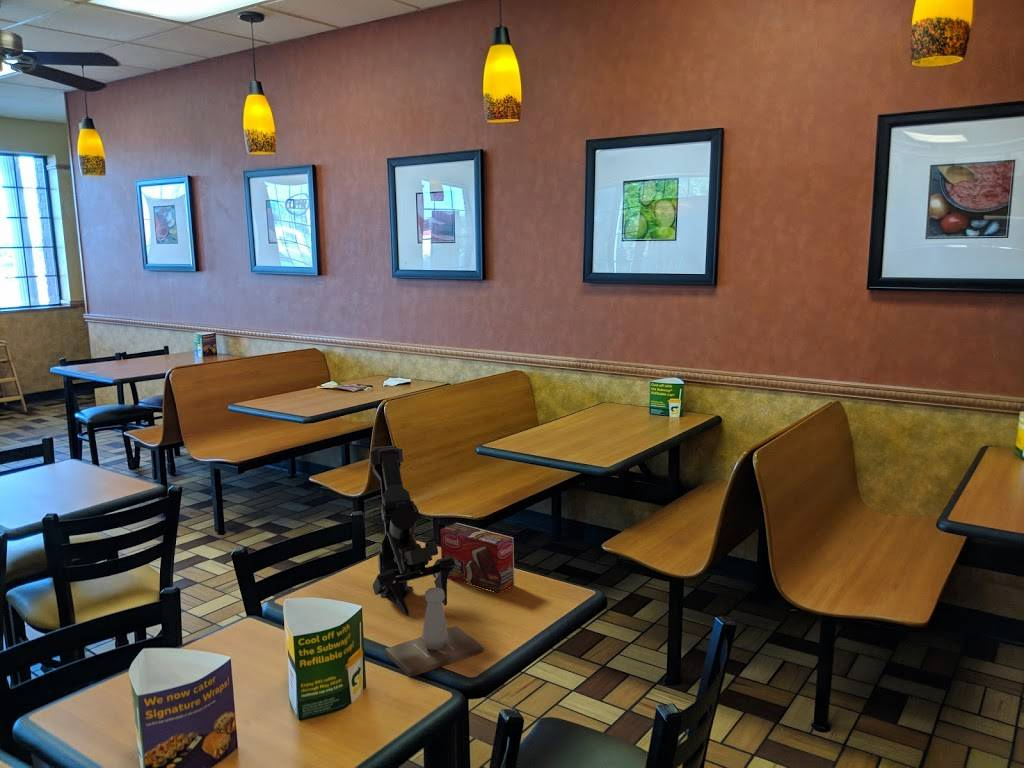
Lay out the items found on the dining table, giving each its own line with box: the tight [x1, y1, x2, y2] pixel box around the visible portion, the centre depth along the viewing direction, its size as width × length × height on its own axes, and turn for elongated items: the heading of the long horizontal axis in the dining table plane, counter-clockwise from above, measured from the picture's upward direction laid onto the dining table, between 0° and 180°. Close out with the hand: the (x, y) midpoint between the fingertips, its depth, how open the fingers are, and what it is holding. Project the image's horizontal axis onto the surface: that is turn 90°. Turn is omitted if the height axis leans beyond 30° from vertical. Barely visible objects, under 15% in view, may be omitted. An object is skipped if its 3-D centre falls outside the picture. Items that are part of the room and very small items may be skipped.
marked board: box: [384, 625, 485, 678], centre depth 171 cm, size 18×12×1 cm, turn 124°
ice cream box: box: [439, 522, 515, 594], centre depth 207 cm, size 20×6×13 cm, turn 52°
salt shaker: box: [421, 586, 448, 650], centre depth 171 cm, size 6×6×13 cm
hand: (427, 610), depth 173 cm, fingers open, 9 cm apart
